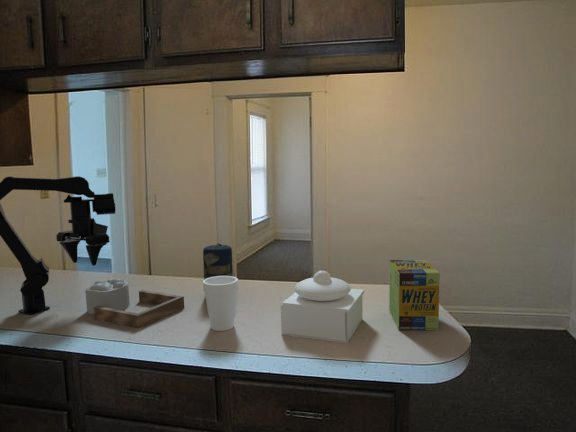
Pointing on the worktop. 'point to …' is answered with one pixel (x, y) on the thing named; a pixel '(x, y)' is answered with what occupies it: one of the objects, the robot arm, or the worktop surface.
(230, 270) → the canister
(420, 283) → the protein box
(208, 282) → the foam cup
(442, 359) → the worktop surface
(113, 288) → the lumpy-topped squat cylinder
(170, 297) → the bay
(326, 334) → the white lidded box
